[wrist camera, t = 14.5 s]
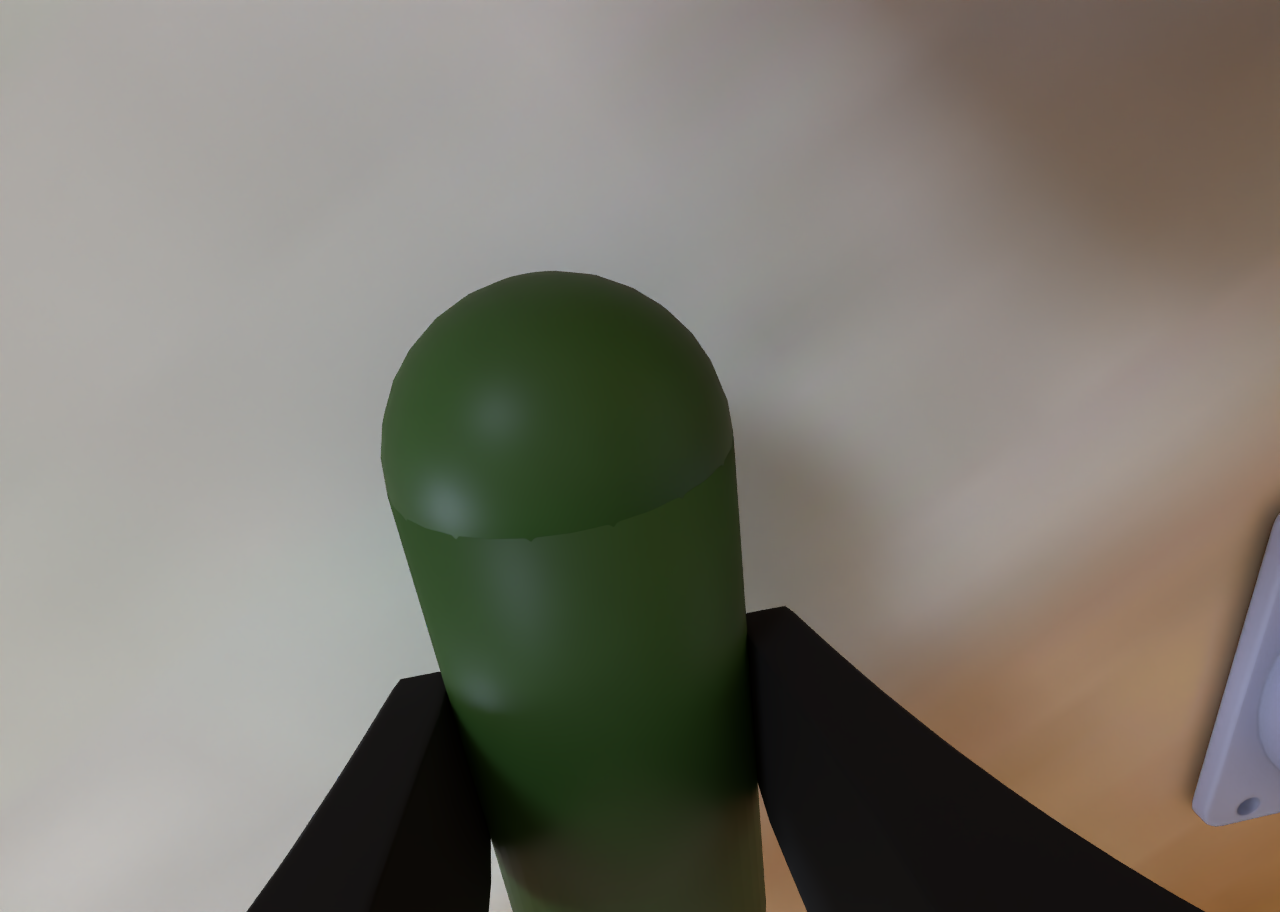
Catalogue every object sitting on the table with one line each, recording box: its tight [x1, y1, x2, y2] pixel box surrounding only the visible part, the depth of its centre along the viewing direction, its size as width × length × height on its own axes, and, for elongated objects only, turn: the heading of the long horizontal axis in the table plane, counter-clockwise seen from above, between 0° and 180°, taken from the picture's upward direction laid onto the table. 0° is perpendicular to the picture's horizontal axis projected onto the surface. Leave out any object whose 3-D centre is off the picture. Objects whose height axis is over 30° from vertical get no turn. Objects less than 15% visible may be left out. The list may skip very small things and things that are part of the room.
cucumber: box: [381, 271, 766, 912], centre depth 9 cm, size 10×3×3 cm, turn 7°
